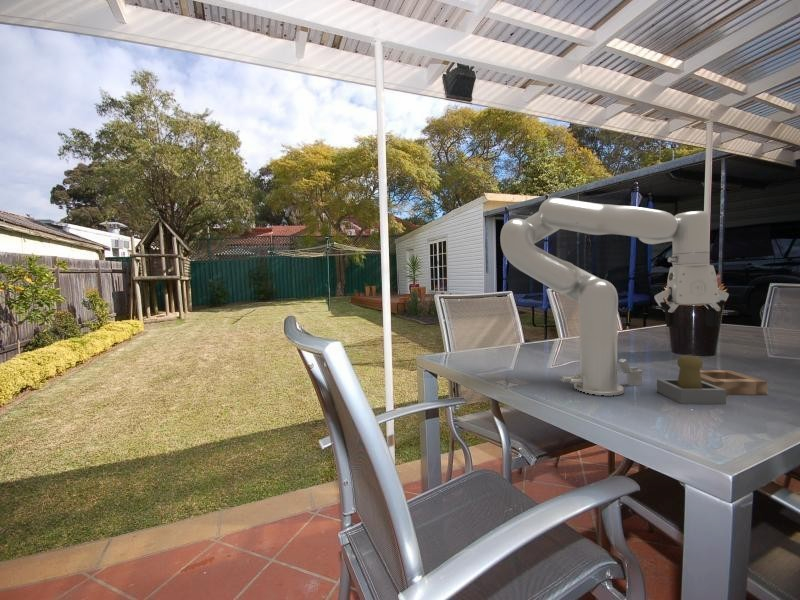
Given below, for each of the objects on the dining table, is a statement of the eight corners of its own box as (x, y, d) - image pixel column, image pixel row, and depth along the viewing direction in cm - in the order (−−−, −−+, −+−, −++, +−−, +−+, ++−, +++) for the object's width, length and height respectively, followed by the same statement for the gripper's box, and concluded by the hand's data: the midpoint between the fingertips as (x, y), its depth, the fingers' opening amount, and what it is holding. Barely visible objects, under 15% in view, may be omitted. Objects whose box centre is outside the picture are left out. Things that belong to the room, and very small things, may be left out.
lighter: (637, 383, 113) (637, 357, 113) (642, 384, 112) (642, 358, 111) (617, 385, 112) (617, 358, 111) (622, 387, 110) (622, 359, 110)
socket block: (713, 394, 100) (713, 381, 100) (682, 381, 113) (682, 370, 113) (766, 394, 99) (767, 381, 99) (728, 381, 112) (729, 370, 112)
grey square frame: (681, 403, 94) (681, 389, 94) (657, 391, 104) (656, 379, 104) (726, 403, 93) (726, 389, 93) (697, 391, 103) (697, 379, 103)
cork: (709, 401, 95) (710, 358, 95) (682, 400, 96) (682, 358, 96) (696, 394, 101) (696, 353, 101) (670, 393, 102) (670, 353, 102)
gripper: (663, 261, 94) (664, 329, 95) (738, 258, 92) (738, 327, 93) (647, 263, 102) (647, 326, 102) (716, 260, 100) (716, 324, 101)
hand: (691, 326), depth 98 cm, fingers open, 9 cm apart
